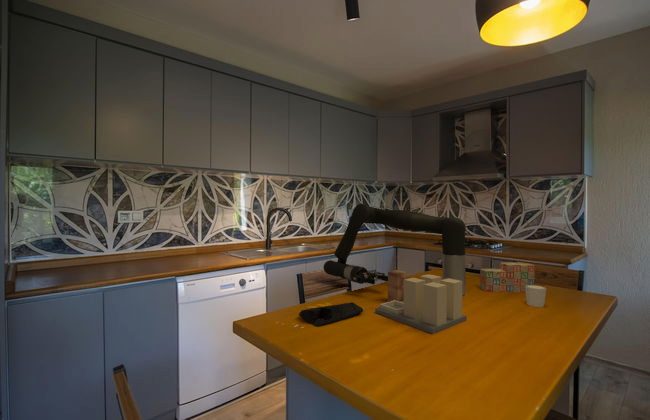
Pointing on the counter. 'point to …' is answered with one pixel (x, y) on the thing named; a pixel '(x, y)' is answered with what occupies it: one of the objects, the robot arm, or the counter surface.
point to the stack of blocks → (508, 277)
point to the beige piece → (535, 295)
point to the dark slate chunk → (330, 313)
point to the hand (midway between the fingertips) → (381, 280)
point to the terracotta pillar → (396, 285)
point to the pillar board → (427, 304)
